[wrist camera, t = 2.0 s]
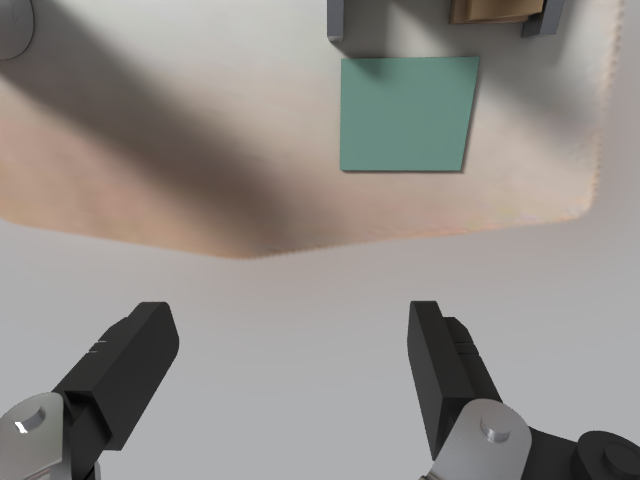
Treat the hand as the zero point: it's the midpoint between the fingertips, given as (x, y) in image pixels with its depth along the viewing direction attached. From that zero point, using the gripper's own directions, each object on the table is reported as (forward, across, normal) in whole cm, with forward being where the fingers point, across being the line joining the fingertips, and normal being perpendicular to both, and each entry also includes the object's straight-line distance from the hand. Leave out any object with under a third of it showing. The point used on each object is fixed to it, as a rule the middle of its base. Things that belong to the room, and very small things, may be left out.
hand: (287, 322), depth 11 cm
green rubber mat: (+26, -8, -3) cm, 27 cm away
